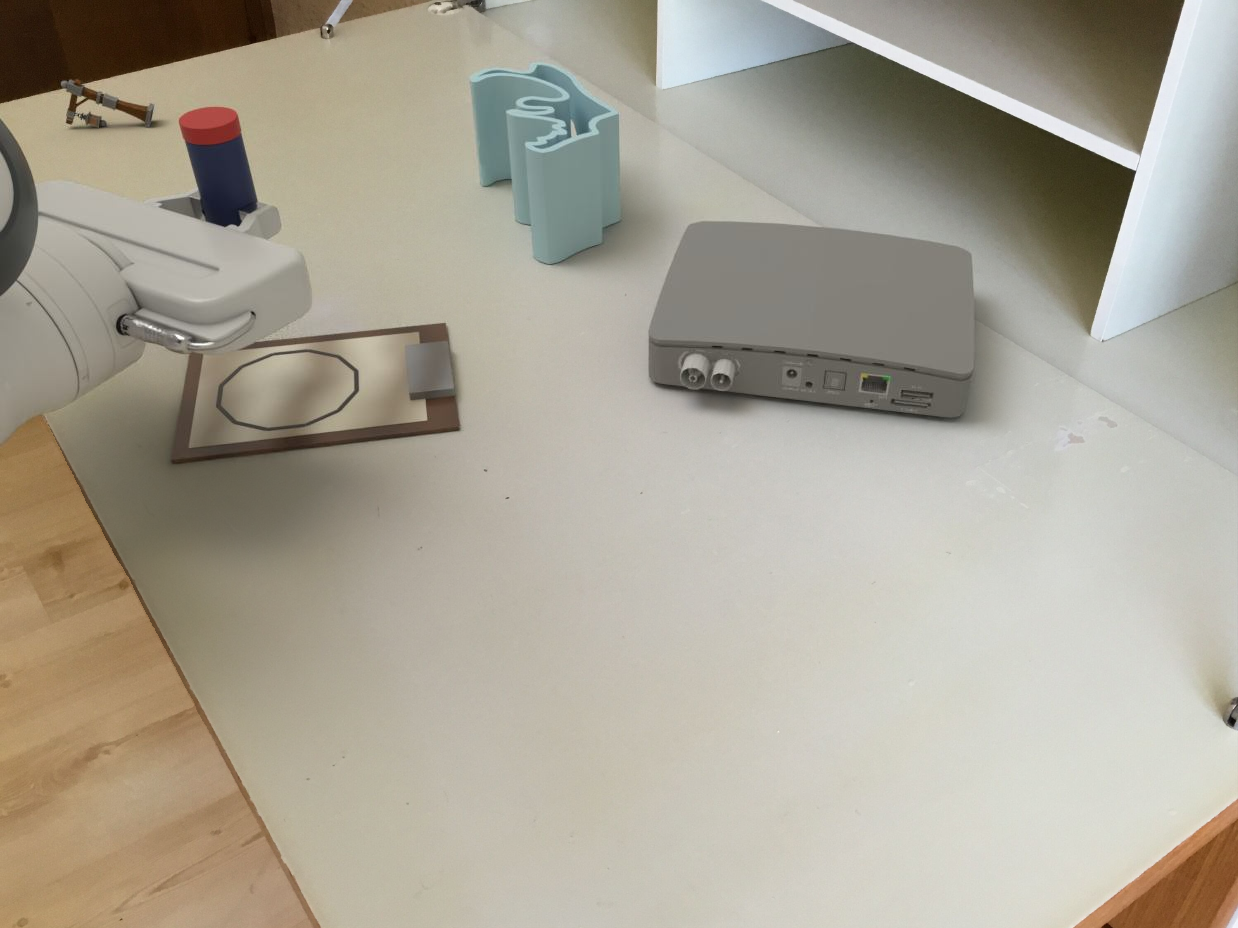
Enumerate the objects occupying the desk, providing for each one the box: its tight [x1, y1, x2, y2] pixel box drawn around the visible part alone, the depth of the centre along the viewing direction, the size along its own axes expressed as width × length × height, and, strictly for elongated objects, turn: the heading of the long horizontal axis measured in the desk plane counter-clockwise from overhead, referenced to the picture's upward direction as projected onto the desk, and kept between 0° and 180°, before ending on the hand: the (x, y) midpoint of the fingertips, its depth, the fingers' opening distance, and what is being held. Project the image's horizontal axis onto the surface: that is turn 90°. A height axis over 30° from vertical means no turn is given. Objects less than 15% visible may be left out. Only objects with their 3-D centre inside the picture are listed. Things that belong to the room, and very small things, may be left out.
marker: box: [178, 106, 259, 227], centre depth 71 cm, size 3×3×13 cm
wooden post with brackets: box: [60, 78, 155, 129], centre depth 110 cm, size 2×8×4 cm, turn 99°
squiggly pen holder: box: [469, 61, 622, 265], centre depth 96 cm, size 18×10×9 cm, turn 31°
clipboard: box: [170, 322, 461, 464], centre depth 78 cm, size 18×13×1 cm
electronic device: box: [647, 220, 975, 418], centre depth 82 cm, size 19×22×5 cm
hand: (242, 206), depth 71 cm, fingers closed on marker, 3 cm apart
